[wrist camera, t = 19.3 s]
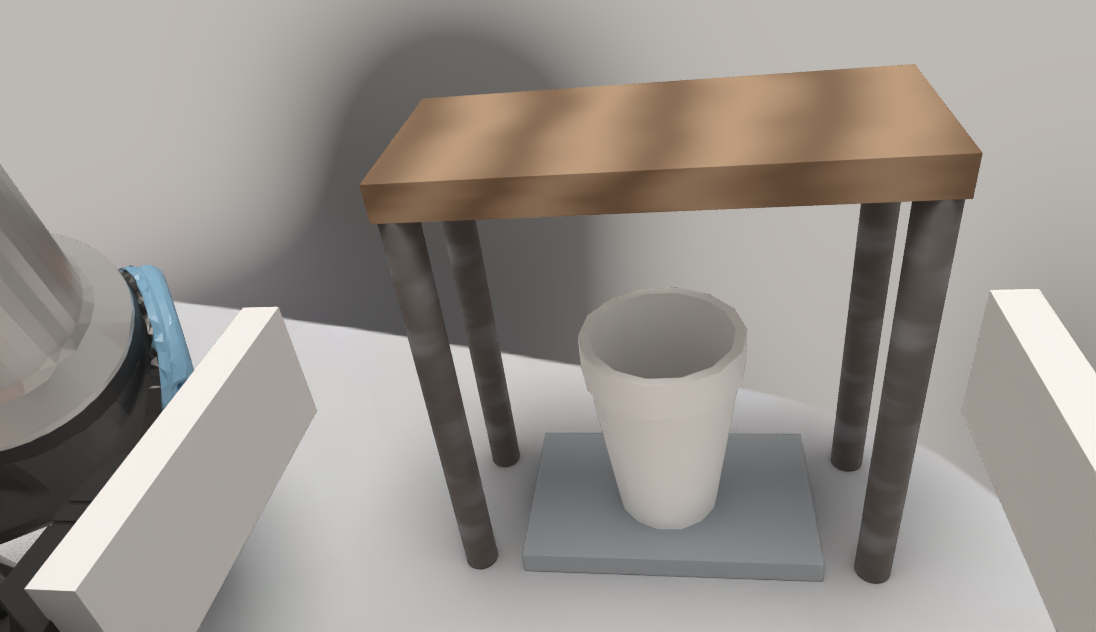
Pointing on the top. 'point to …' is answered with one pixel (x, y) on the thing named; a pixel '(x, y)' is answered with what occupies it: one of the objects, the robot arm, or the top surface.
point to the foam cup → (665, 397)
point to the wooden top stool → (685, 185)
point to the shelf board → (695, 551)
